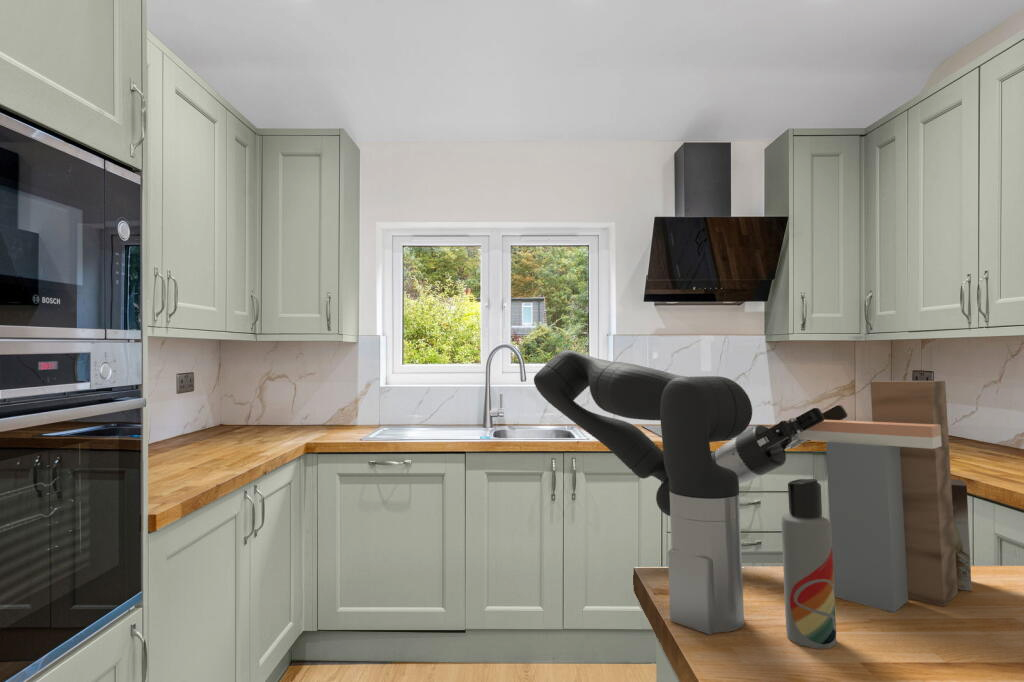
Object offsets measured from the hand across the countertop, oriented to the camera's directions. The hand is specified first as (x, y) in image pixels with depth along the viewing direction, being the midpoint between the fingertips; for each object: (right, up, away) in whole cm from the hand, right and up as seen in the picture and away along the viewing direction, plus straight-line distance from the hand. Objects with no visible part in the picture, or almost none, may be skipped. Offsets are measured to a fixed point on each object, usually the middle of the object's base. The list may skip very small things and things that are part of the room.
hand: (832, 411), depth 92 cm
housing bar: (+3, -4, -3) cm, 6 cm away
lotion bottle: (-12, -27, -18) cm, 34 cm away
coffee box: (+18, -28, +3) cm, 33 cm away
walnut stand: (+12, -27, -3) cm, 30 cm away
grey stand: (+3, -27, -5) cm, 28 cm away
